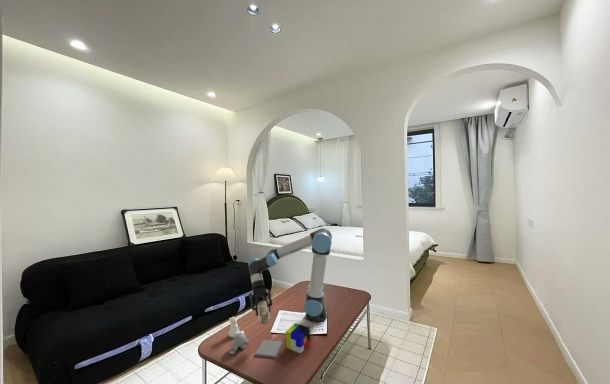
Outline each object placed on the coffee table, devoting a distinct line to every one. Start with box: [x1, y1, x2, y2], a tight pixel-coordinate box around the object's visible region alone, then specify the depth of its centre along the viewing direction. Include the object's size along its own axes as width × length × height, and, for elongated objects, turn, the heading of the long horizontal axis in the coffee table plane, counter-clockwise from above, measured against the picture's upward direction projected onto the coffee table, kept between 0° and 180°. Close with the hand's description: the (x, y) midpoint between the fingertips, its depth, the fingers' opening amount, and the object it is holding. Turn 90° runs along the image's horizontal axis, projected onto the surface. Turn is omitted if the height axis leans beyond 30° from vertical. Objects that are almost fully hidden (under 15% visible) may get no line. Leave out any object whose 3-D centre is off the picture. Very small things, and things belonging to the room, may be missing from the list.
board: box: [254, 339, 283, 359], centre depth 151 cm, size 12×12×1 cm
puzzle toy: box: [285, 322, 311, 354], centre depth 153 cm, size 10×10×10 cm
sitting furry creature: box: [228, 316, 245, 339], centre depth 165 cm, size 10×9×12 cm
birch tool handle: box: [258, 300, 269, 325], centre depth 157 cm, size 5×5×12 cm
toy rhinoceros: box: [229, 332, 249, 355], centre depth 151 cm, size 7×12×8 cm, turn 146°
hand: (264, 319), depth 153 cm, fingers closed on birch tool handle, 5 cm apart
